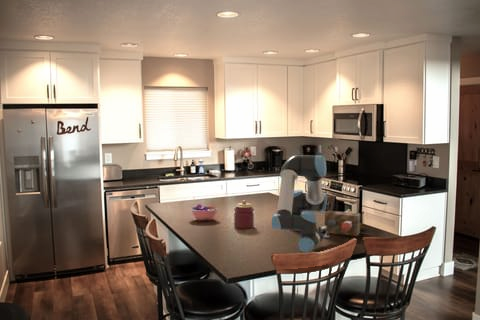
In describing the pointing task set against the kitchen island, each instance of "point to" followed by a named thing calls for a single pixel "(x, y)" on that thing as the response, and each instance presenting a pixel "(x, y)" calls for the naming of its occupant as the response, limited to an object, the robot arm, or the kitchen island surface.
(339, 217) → the walnut plug block
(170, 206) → the kitchen island surface
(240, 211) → the canister
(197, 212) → the cell model
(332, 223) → the graphite plug
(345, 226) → the red plug
